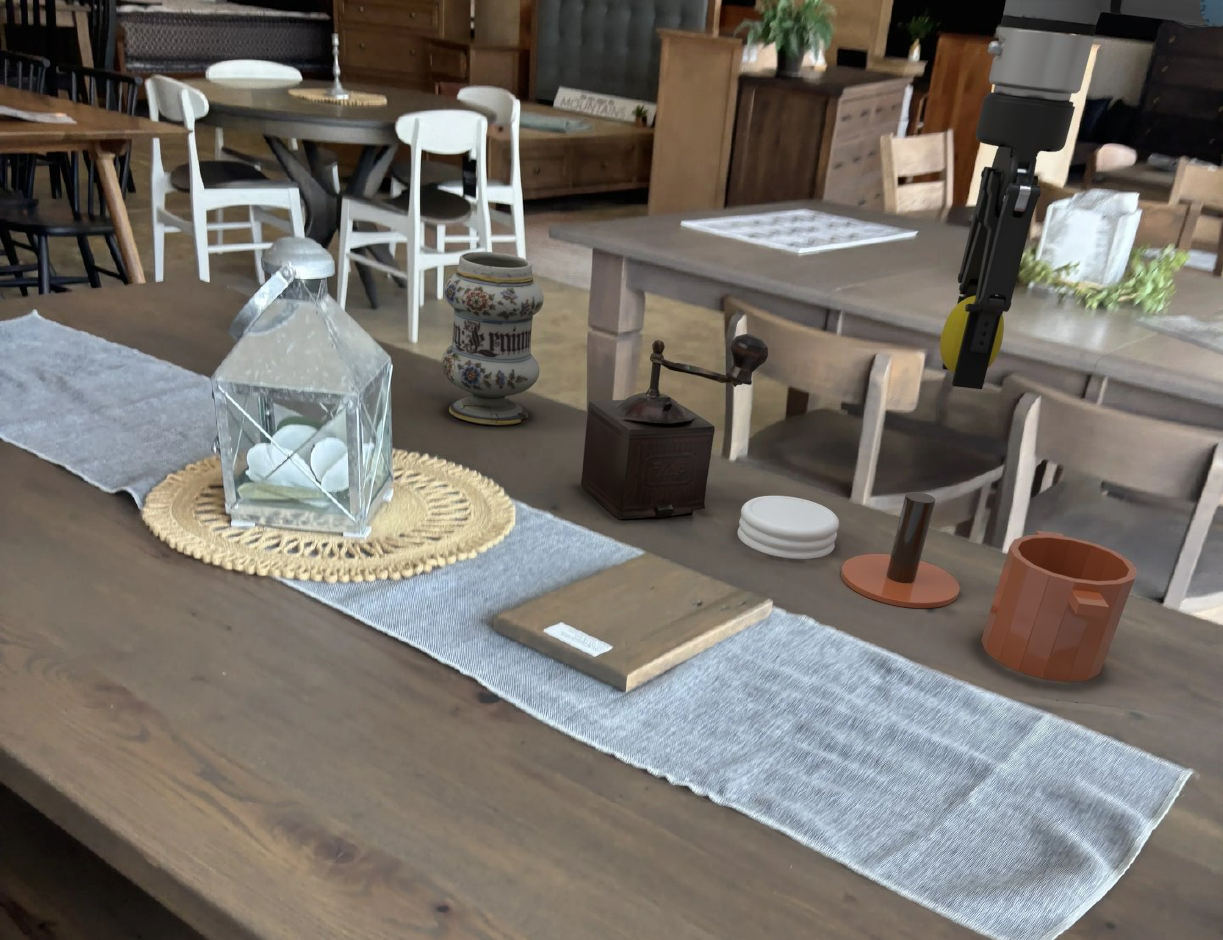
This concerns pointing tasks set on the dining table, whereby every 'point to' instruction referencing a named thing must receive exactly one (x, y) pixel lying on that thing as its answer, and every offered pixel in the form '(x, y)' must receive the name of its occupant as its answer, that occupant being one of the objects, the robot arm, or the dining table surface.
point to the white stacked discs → (788, 527)
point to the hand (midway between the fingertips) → (961, 377)
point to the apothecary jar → (491, 336)
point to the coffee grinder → (657, 442)
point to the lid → (904, 564)
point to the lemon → (955, 332)
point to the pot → (1057, 606)
